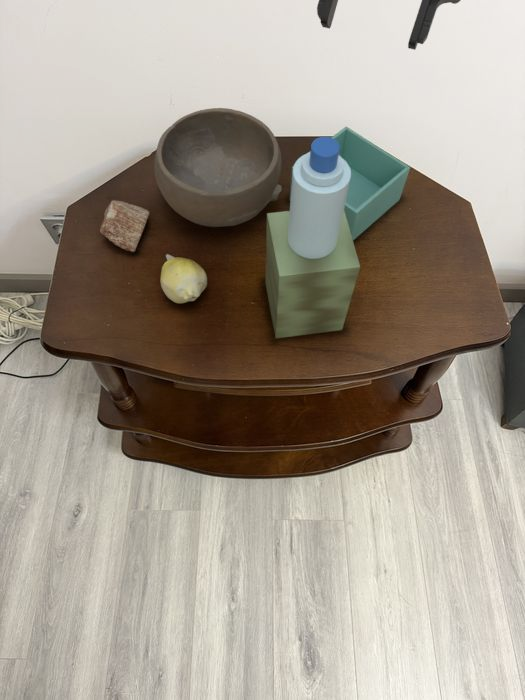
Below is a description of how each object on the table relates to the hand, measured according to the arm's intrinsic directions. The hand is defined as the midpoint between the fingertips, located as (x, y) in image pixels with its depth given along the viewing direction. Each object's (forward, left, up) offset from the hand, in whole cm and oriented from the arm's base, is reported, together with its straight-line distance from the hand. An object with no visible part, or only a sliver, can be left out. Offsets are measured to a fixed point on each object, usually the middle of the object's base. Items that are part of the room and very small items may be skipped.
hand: (368, 36), depth 50 cm
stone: (+26, +14, -31) cm, 43 cm away
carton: (+2, -9, -30) cm, 32 cm away
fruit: (+14, +17, -31) cm, 38 cm away
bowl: (+18, +1, -31) cm, 36 cm away
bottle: (-2, +11, -16) cm, 20 cm away
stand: (-2, +11, -30) cm, 33 cm away
